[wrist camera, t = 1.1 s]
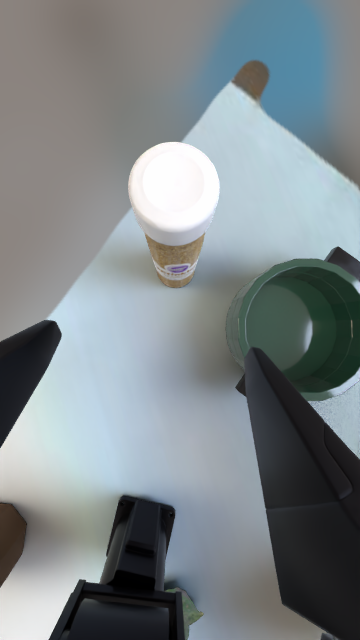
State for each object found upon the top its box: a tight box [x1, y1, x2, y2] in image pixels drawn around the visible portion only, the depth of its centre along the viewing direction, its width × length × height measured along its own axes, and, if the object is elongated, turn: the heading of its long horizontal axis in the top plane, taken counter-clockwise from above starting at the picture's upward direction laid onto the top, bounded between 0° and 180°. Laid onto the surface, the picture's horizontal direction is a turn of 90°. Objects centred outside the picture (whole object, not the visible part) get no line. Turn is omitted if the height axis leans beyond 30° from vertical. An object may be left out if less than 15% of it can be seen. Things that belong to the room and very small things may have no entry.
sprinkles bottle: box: [128, 142, 220, 288], centre depth 15 cm, size 5×5×14 cm
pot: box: [226, 259, 360, 401], centre depth 20 cm, size 14×14×4 cm
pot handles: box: [235, 247, 360, 396], centre depth 18 cm, size 18×4×1 cm, turn 144°
